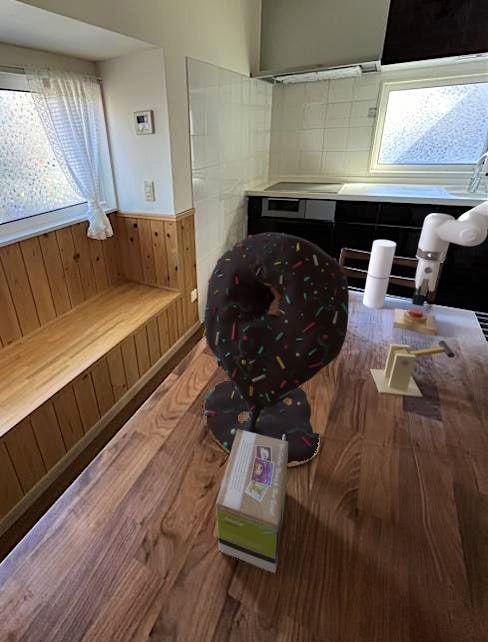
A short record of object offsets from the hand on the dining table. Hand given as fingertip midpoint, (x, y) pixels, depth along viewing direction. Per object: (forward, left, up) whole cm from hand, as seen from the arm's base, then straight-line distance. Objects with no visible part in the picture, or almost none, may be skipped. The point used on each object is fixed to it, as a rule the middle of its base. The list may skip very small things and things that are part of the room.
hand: (417, 303), depth 113 cm
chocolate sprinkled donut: (+50, +47, -8) cm, 69 cm away
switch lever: (+11, +32, +2) cm, 34 cm away
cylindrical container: (+9, -13, -8) cm, 18 cm away
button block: (0, 0, -8) cm, 8 cm away
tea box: (+51, +73, -8) cm, 90 cm away
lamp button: (0, 0, -4) cm, 4 cm away
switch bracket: (+15, +32, -8) cm, 36 cm away
